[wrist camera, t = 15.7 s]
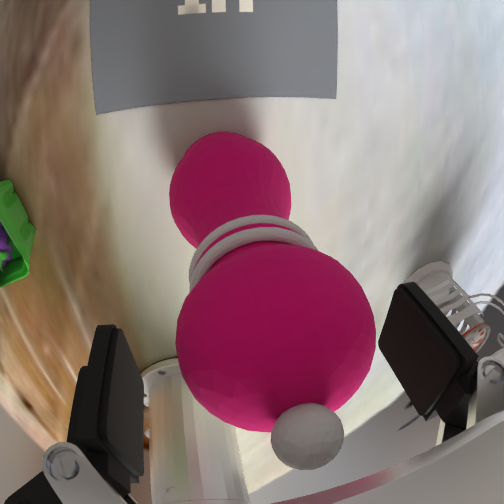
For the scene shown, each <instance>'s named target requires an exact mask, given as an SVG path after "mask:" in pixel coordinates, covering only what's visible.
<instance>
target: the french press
mask: <svg viewBox="0 0 504 504" xmlns="http://www.w3.org/2000/svg"><path fill="white" fill-rule="evenodd" d="M452 274H453V272H452V270H451V267H450V265H449V264H447V263H445V262H443V261H437V262H430V263H428V264H427V265H425V266H423V267H421V268H419V269H417V270H416V271H415V272H414V273H413V274H412V275H411V276H410V277H408V278H407V279H406V280H405V281H404V283H408V282H415V283H416V284H417V285H418V286H419V287H420V288H421V289H422V290H423V291H424V292H425V293H426V294H427V296H428V297H429V298H430V299H431V300H432V301H433V302H434V303H435V305H436V306H437V307H438V308H439V309H440V310H441V311H442V313H443V314H444V315H445V316H446V315H447V313H448V312H449V311H450V310H452V309H453V310H452V313H451V315H450V316H448V317H447V318H448V320H449V321H450V322H451V323H452V324H453V325H454V327H455V328H456V329H457V327H458V326H459V324H460V322H461V321H462V320H464V323H463V326H462V328H461V330H460V331H459V333H460V334H461V335H462V336H463V337H464V339H465V340H466V341H467V342H468V344H469V345H470V346H471V347H472V349H473V350H474V351H475V352H476V353H477V351H479V349H481V347H482V346H483V344H484V343H485V342H486V339H487V338H488V336H489V334H490V325H489V324H484V321H483V319H482V318H481V317H480V316H479V315H478V314H477V313H481V315H482V316H483V317H484V314H483V313H482V312H481V311H480V309H479V308H478V307H477V306H476V305H477V304H490V305H492V306H494V307H496V308H497V309H499V310H500V311H501V312H502V313H503V314H504V312H503V310H502V309H501V308H500V307H498V306H496V305H495V304H493V303H490V302H485V301H480V302H476V303H473V302H472V300H471V299H470V298H473V297H477V296H490V297H493V298H495V299H497V300H498V301H499V302H501V303H502V304H503V305H504V302H503V301H502V300H501V299H499V298H497V297H496V296H493V295H491V294H477V295H473V296H469V295H468V294H467V293H466V292H465V291H464V290H463V289H462V288H461V287H460V286H459V285H458V284H457V283H456V282H455V281H454V280H453V279H452ZM453 286H455V287H456V288H457V289H455V288H454V287H453ZM460 293H462V294H463V296H462V295H461V294H460ZM467 300H468V301H469V302H470V303H468V302H467ZM456 311H458V313H456ZM467 324H468V325H469V326H470V329H469V330H468V331H466V332H465V330H466V327H467ZM464 332H465V333H464ZM463 333H464V334H463ZM500 336H501V338H502V339H503V340H504V336H503V335H502V334H501V333H500V334H498V342H499V343H500V345H501V346H502V347H504V345H503V344H502V343H501V341H500ZM490 357H494V358H497V359H499V360H500V361H501V362H503V364H504V348H503V349H501V350H499V351H497V352H496V353H494V354H493V355H492V356H490Z"/></svg>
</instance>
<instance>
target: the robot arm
mask: <svg viewBox="0 0 504 504" xmlns="http://www.w3.org/2000/svg"><path fill="white" fill-rule="evenodd" d="M378 345H379V348H380V350H381V352H382V354H383V355H384V357H385V358H386V360H387V362H388V363H389V365H390V367H391V368H392V370H393V372H394V373H395V375H396V377H397V378H398V380H399V381H400V383H401V385H402V387H403V388H404V390H405V392H406V393H407V395H408V397H409V398H410V400H411V402H412V404H413V405H414V407H415V409H416V410H417V412H418V414H419V415H421V416H423V417H424V419H425V420H426V421H427V420H429V419H432V418H434V417H436V416H437V415H439V416H440V418H441V421H440V426H439V432H438V437H437V442H436V446H435V447H433V448H432V449H430V450H427V451H425V452H423V453H421V454H420V455H417V456H415V457H413V458H411V459H409V460H406V461H404V462H402V463H400V464H398V465H395V466H393V467H390V468H388V469H386V470H383V471H381V472H378V473H375V474H373V475H370V476H367V477H365V478H362V479H359V480H357V481H354V482H351V483H348V484H345V485H341V486H338V487H335V488H332V489H329V490H325V491H322V492H318V493H315V494H311V495H307V496H303V497H299V498H295V499H291V500H287V501H282V502H277V503H272V504H504V364H503V362H501V361H500V360H499V359H497V358H494V357H484V358H483V359H481V360H480V362H479V363H478V362H477V361H476V360H477V358H478V355H477V354H476V352H475V351H474V350H473V349H472V347H471V346H470V345H469V344H468V342H467V341H466V340H465V339H464V337H463V336H462V335H461V334H460V333H459V331H458V330H457V329H456V328H455V327H454V325H453V324H452V323H451V322H450V321H449V320H448V318H447V317H446V316H445V315H444V314H443V313H442V311H441V310H440V309H439V308H438V307H437V306H436V305H435V303H434V302H433V301H432V300H431V299H430V298H429V297H428V296H427V294H426V293H425V292H424V291H423V290H422V289H421V288H420V287H419V286H418V285H417V284H416V283H415V282H408V283H403V284H400V285H399V286H398V287H397V289H396V290H395V291H394V294H393V297H392V301H391V304H390V307H389V310H388V314H387V317H386V320H385V323H384V326H383V329H382V332H381V335H380V338H379V341H378ZM144 405H145V406H147V407H148V408H149V425H148V426H147V427H146V428H145V430H144V433H145V435H146V436H147V437H148V438H149V444H150V473H151V491H152V504H250V499H249V495H248V490H247V485H246V481H245V476H244V471H243V466H242V461H241V456H240V451H239V446H238V440H237V435H236V430H235V426H233V425H231V424H228V423H225V422H223V421H222V420H220V419H219V418H217V417H215V416H214V415H212V414H211V413H209V412H208V411H207V410H206V409H205V408H204V407H203V406H202V405H201V404H200V403H199V402H198V401H197V400H196V399H195V398H194V396H193V395H192V393H191V391H190V390H189V388H188V386H187V384H186V382H185V381H184V379H183V377H182V374H181V370H180V367H179V362H178V358H174V359H168V360H164V361H161V362H158V363H156V364H154V365H151V366H150V367H148V368H147V369H145V370H144V371H143V372H142V373H141V374H140V372H139V370H138V368H137V365H136V363H135V360H134V358H133V356H132V353H131V351H130V348H129V346H128V343H127V341H126V338H125V336H124V333H123V331H122V329H121V328H119V329H117V327H116V326H115V325H114V324H112V325H98V326H97V328H96V331H95V335H94V339H93V343H92V348H91V352H90V357H89V361H88V366H83V367H82V368H81V369H80V371H79V375H78V380H77V384H76V389H75V395H74V400H73V405H72V411H71V417H70V423H69V430H68V437H67V442H59V443H56V444H54V445H52V446H50V447H49V448H48V449H47V450H46V452H45V454H44V455H43V459H42V470H43V471H42V472H40V473H39V474H38V475H37V476H35V477H34V478H33V479H31V480H30V481H29V482H28V483H26V484H25V485H24V486H22V487H21V488H20V489H19V490H17V491H16V492H15V493H13V494H12V495H11V496H9V497H8V499H7V500H6V501H5V503H4V504H138V503H137V502H136V501H135V500H134V499H133V498H132V497H131V496H130V495H129V493H130V491H131V490H130V483H139V476H143V474H144V461H143V410H144Z"/></svg>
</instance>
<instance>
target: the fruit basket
mask: <svg viewBox="0 0 504 504" xmlns="http://www.w3.org/2000/svg"><path fill="white" fill-rule="evenodd" d="M34 235H35V228H34V226H33V225H32V224H31V223H30V222H29V219H28V215H27V213H26V211H25V209H24V207H23V205H22V203H21V201H20V199H19V197H18V195H17V194H16V193H15V192H14V188H13V184H12V182H11V180H5V181H1V182H0V287H3V286H5V285H8V284H10V283H12V282H15V281H17V280H20V279H22V278H25V277H26V276H27V275H28V274H29V267H30V253H31V248H32V244H33V240H34Z"/></svg>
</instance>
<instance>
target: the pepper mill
mask: <svg viewBox="0 0 504 504" xmlns="http://www.w3.org/2000/svg"><path fill="white" fill-rule="evenodd" d="M169 196H170V208H171V213H172V216H173V219H174V221H175V223H176V225H177V227H178V228H179V230H180V232H181V233H182V235H183V236H184V237H185V238H186V240H187V241H188V242H189V243H190V244H191V245H193V246H194V247H195V248H196V249H197V250H196V252H195V253H194V256H193V258H192V261H191V265H190V269H189V281H190V293H189V295H188V296H187V297H186V299H185V301H184V303H183V306H182V309H181V311H180V314H179V317H178V320H177V332H176V350H177V356H178V362H179V367H180V370H181V374H182V377H183V379H184V381H185V382H186V384H187V386H188V388H189V390H190V391H191V393H192V395H193V396H194V398H195V399H196V400H197V401H198V402H199V403H200V404H201V405H202V406H203V407H204V408H205V409H206V410H207V411H208V412H209V413H211V414H212V415H214V416H215V417H217V418H219V419H220V420H222V421H223V422H225V423H228V424H231V425H233V426H236V427H239V428H242V429H245V430H248V431H259V432H271V444H272V448H273V450H274V452H275V454H276V456H277V457H278V459H279V460H281V461H282V462H283V463H284V464H285V465H287V466H289V467H292V468H295V469H299V470H313V469H317V468H320V467H322V466H324V465H326V464H327V463H328V462H330V461H331V460H333V459H334V457H335V456H336V455H337V454H338V452H339V450H340V449H341V446H342V443H343V440H344V430H343V426H342V423H341V420H340V419H339V417H338V416H337V415H336V414H335V413H334V411H336V410H337V409H339V408H340V407H341V406H342V405H344V404H345V403H346V402H347V401H348V400H349V399H350V398H351V397H352V396H353V395H354V393H355V392H356V391H357V390H358V389H359V387H360V386H361V384H362V382H363V381H364V379H365V377H366V376H367V374H368V372H369V370H370V367H371V364H372V360H373V356H374V352H375V347H376V329H375V322H374V316H373V313H372V310H371V307H370V304H369V302H368V300H367V298H366V295H365V293H364V291H363V289H362V287H361V286H360V284H359V283H358V282H357V280H356V279H355V278H354V276H353V275H352V274H351V273H350V272H349V271H348V270H347V269H346V268H345V267H344V266H342V265H341V264H340V263H339V262H338V261H337V260H335V259H333V258H332V257H330V256H328V255H326V254H323V253H321V252H319V251H318V250H317V248H316V247H315V246H314V245H313V242H312V241H311V239H310V238H309V236H308V235H307V234H306V233H305V231H304V230H302V229H301V228H300V227H299V226H297V225H296V224H294V223H293V222H291V221H289V216H290V210H291V192H290V183H289V181H288V178H287V175H286V172H285V170H284V168H283V167H282V165H281V163H280V162H279V160H278V159H277V157H276V156H275V155H274V154H273V153H272V152H271V151H270V150H269V149H268V148H266V147H265V146H263V145H262V144H260V143H258V142H256V141H254V140H252V139H249V138H246V137H244V136H242V135H239V134H236V133H230V132H217V133H213V134H209V135H207V136H205V137H203V138H201V139H199V140H198V141H196V142H195V143H194V144H193V145H192V146H191V147H190V148H189V149H188V150H187V152H186V153H185V155H184V157H183V159H182V160H181V161H180V163H179V164H178V166H177V167H176V169H175V172H174V174H173V176H172V180H171V184H170V192H169Z"/></svg>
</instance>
